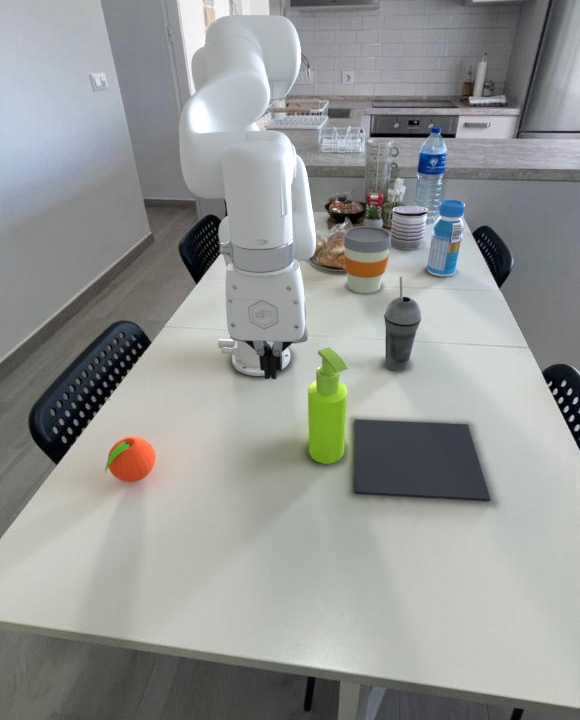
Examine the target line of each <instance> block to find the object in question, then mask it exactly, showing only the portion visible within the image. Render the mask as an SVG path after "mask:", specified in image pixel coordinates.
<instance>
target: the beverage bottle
mask: <svg viewBox="0 0 580 720" xmlns="http://www.w3.org/2000/svg"><path fill="white" fill-rule="evenodd" d="M465 209H466V203H465V202H464V201H462V200H458V199H445V200H441V201H440V202H439V206H438V218H437V219H436V220H435V222H434V223H433V227H432V229H433V231H432V233H431V236H430V239H431V240H430V248H429V254H428V261H427V267H426V269H427V272H428V273H429V274H431V275H433V276H437V277H451V276H452V275H454V274H455V273H456V270H457V264H458V258H459V254H460V249H461V245H462V244H461V243H462V241H463V234H462V233H463V231H464V227H465V226H464V223H463V222H464V221H463V220H462V218H463V217H464V214H465Z"/></svg>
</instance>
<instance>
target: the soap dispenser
mask: <svg viewBox="0 0 580 720" xmlns="http://www.w3.org/2000/svg"><path fill="white" fill-rule="evenodd" d="M317 355H319V357H321V366H319V367H318V368H317V369H316V372H315V373H316V374H315V376H316V379H315V380H314V381H312V382H311V384H310V385H309V386H308V389H307V404H308V405H307V407H308V408H307V409H308V410H307V411H308V413H307V415H308V453H309V456H310V458H311V459H313V460H314V461H315V462H317V463H319V464H324V465H330V464H333V463H334V464H335V463H337V462H339V461H340V460H341V459H342V458H343V456H344V453H345V439H346V438H345V437H346V417H347V402H348V401H347V398H348V389H347V386H346V385H345V383H343V382H342V381H340V372H342V371H345V370H348V369H349V367H348V365H347V364H346V362H345V361H344V360H343V359H342V357H341V356H340V355H339V354H338V353H337V352H336V351H334V349H332V348H331V347H329V346H328V347H325V348H322V349H319V350H317Z"/></svg>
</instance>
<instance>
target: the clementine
mask: <svg viewBox="0 0 580 720" xmlns="http://www.w3.org/2000/svg"><path fill="white" fill-rule="evenodd" d="M155 463H156V452H155V449H154V447H153V445H152V443H151V442H149V441H148V440H147V439H145V438H143V437H140V436H136V435H135V436H133V435H132V436H127V437H126V436H125V437H124V438H121V439H119V440H118V441H116V443H114V444H113V445H112V447H111V449H110V450H109V453H108V455H107V461H106V465H105V475H107V471H108V470H109V472H110V474H112V476H113V477H115V479H117V480H120V481H122V482H127V483H131V482H132V483H133V482H138V481H140V480H143V479H145V478H146V477H147V476H148V475H149V474H150V473H151V472H152V470H153V469H154V466H155Z"/></svg>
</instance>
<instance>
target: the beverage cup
mask: <svg viewBox="0 0 580 720" xmlns="http://www.w3.org/2000/svg"><path fill="white" fill-rule="evenodd" d="M403 286H404V285H403V276H399V296H397V297H396V298H394V299H392V300H391V301H390V302H389V303H388V304H387V307H386V309H385V311H384V315H383V318H384V327H385V366H386V367H387V368H388V369H390V370H393V371H403V370H405V369H407V368H408V364H409V361H410V358H411V354H412V350H413V346H414V342H415V338H416V334H417V330H418V329H419V326H420V324H421V322H422V312H421V308H420V306H419V304H418V302H417V301H416V300H414V299H413V298H411V297H409V296H404V295H403V293H404V291H403V288H404V287H403Z"/></svg>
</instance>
